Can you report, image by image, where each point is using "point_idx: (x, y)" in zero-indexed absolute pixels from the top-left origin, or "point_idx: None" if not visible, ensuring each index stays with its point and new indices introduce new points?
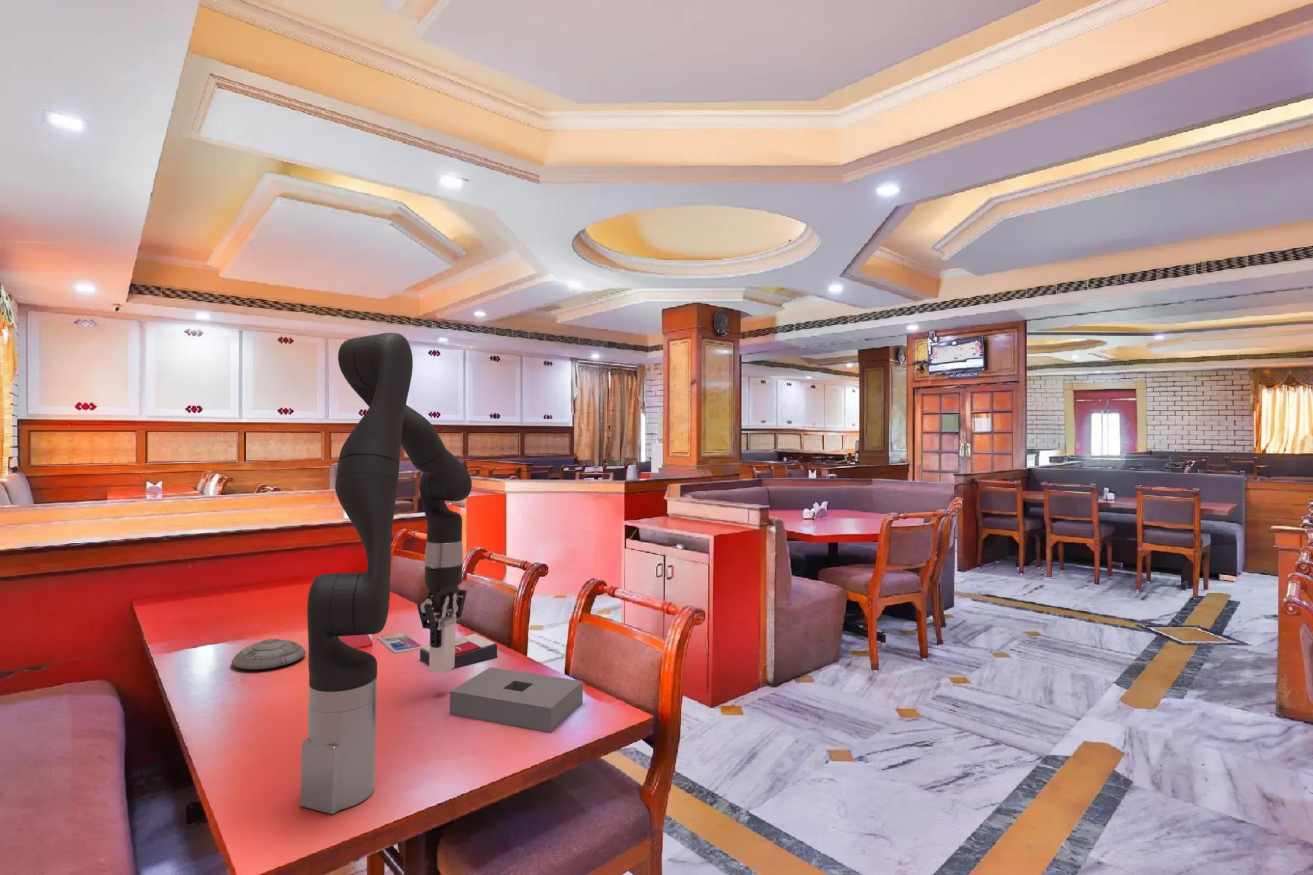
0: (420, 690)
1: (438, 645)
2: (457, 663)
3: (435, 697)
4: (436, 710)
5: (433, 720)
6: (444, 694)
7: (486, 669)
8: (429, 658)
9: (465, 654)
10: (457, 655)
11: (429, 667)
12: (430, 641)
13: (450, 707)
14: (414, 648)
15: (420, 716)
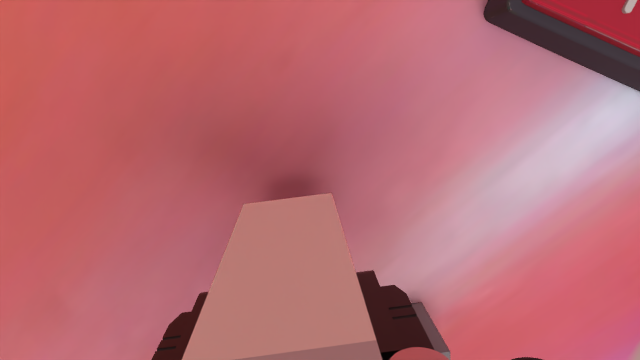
0: (288, 96)
1: None
2: (565, 49)
3: (265, 198)
4: (185, 279)
5: (125, 323)
6: None
7: None
8: (234, 228)
9: (624, 64)
10: (597, 40)
11: (241, 211)
12: (166, 335)
13: None
14: None
15: (121, 268)
